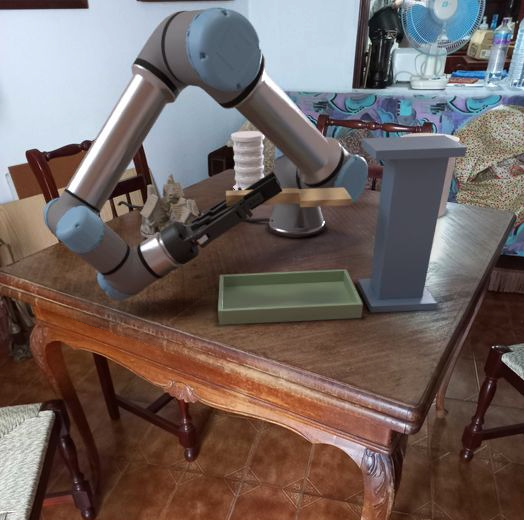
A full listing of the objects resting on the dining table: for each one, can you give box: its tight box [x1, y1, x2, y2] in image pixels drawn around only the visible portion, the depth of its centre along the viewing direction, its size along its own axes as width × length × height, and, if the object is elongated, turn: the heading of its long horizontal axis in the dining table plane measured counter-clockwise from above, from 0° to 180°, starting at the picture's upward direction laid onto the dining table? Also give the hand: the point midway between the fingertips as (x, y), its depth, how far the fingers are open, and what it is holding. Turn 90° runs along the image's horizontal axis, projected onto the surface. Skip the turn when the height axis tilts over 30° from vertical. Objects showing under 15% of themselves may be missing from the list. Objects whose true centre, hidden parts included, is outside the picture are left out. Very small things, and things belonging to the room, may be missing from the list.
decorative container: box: [230, 130, 266, 191], centre depth 158 cm, size 12×12×18 cm
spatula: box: [225, 187, 352, 208], centre depth 85 cm, size 22×7×2 cm, turn 93°
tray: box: [217, 268, 364, 326], centre depth 96 cm, size 28×16×3 cm, turn 93°
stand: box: [356, 135, 468, 314], centre depth 89 cm, size 15×12×30 cm
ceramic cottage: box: [139, 173, 199, 239], centre depth 127 cm, size 16×16×15 cm
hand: (277, 181), depth 83 cm, fingers closed on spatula, 3 cm apart
